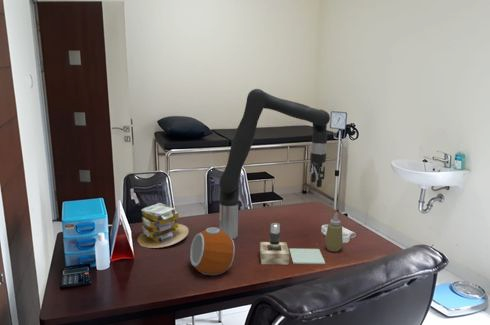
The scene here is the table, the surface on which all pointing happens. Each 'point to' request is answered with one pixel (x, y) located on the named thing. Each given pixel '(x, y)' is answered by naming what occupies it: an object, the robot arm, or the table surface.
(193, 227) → the table surface
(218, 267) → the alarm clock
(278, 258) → the eye block
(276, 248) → the steel peg
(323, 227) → the white brass knuckles
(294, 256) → the sage mat
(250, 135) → the robot arm
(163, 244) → the package stack on board
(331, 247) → the squeeze bottle
